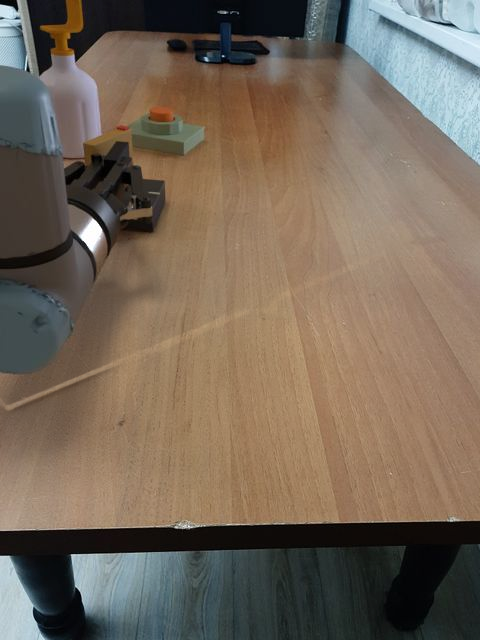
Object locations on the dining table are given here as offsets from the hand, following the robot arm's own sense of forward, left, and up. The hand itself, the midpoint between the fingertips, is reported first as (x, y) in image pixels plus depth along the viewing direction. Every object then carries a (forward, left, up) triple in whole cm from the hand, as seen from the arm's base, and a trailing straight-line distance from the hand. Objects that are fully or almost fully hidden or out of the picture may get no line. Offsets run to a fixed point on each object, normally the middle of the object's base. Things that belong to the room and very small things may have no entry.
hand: (123, 152), depth 69 cm
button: (-9, +31, -5) cm, 33 cm away
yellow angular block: (-3, +1, -6) cm, 6 cm away
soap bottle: (-19, +20, -9) cm, 29 cm away
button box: (-9, +31, -9) cm, 33 cm away
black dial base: (-3, +1, -9) cm, 9 cm away
